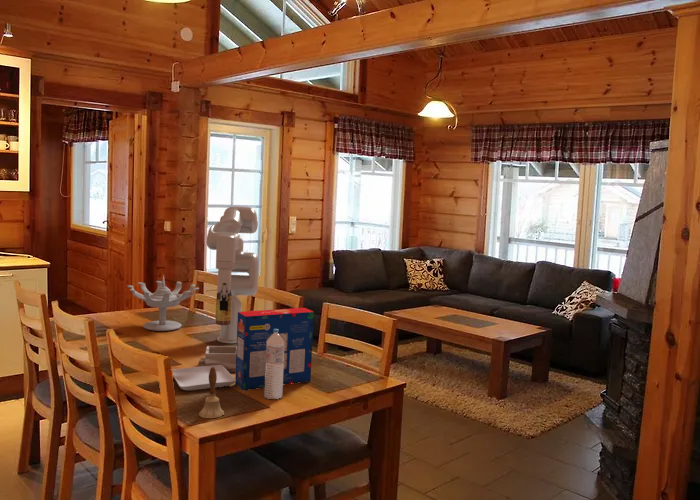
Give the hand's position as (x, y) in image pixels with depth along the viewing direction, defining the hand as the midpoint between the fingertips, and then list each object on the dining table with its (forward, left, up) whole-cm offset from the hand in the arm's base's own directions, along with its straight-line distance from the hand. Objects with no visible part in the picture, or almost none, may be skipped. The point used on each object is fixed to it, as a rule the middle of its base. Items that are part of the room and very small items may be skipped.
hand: (223, 308), depth 260 cm
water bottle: (+37, +19, -25) cm, 48 cm away
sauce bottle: (0, 0, -7) cm, 7 cm away
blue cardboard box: (+21, +20, -25) cm, 38 cm away
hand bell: (+53, -2, -25) cm, 59 cm away
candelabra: (-66, -31, -25) cm, 77 cm away
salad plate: (+20, -7, -25) cm, 33 cm away
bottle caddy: (0, 0, -25) cm, 25 cm away
